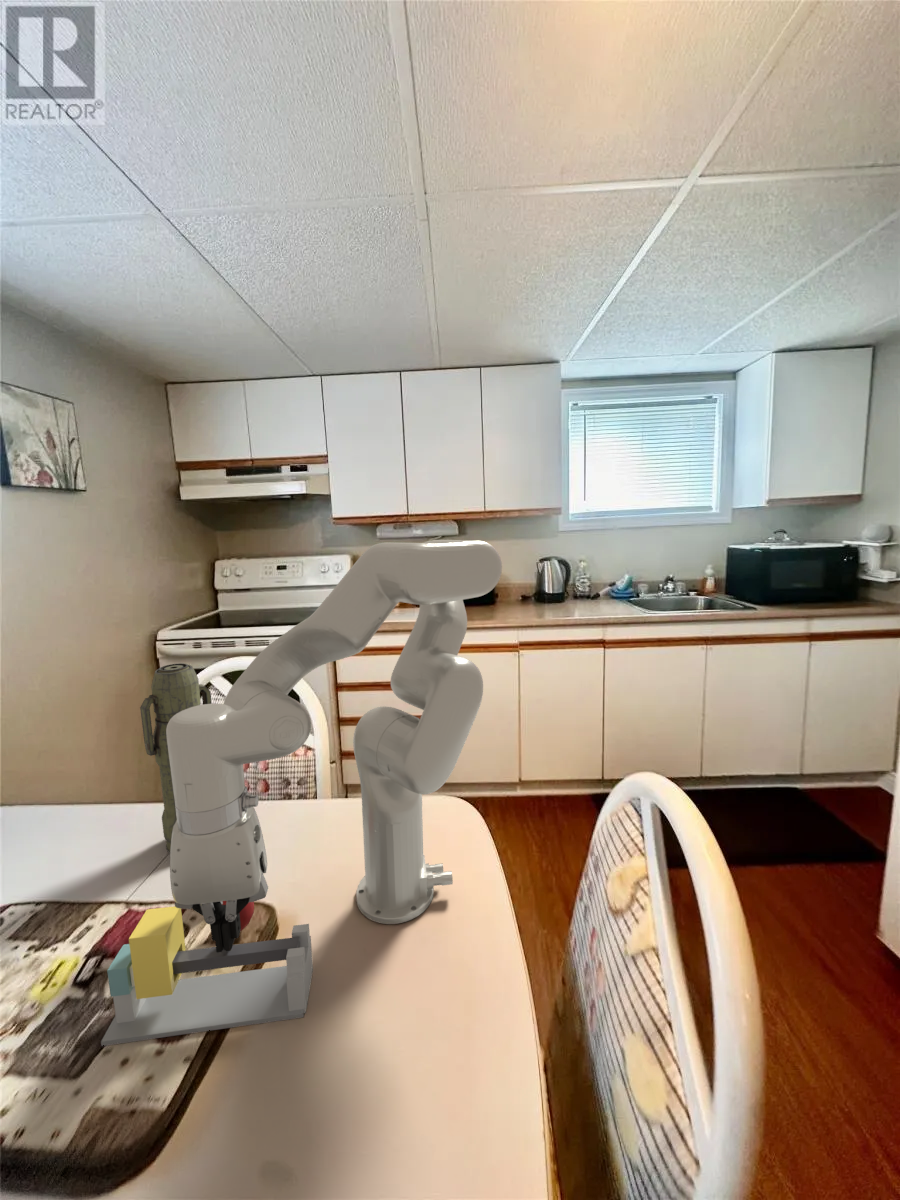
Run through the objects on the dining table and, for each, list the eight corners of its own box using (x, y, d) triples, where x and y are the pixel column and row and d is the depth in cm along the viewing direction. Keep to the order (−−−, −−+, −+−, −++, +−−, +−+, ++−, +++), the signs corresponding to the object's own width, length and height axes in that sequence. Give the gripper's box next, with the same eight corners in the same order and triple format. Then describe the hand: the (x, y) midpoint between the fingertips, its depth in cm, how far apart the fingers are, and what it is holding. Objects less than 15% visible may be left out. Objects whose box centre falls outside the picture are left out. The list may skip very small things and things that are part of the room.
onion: (244, 911, 76) (240, 865, 75) (263, 929, 72) (259, 882, 71) (206, 935, 71) (201, 887, 70) (225, 956, 68) (220, 906, 67)
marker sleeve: (187, 962, 62) (180, 905, 61) (172, 994, 58) (165, 934, 57) (154, 966, 62) (147, 909, 60) (136, 999, 57) (128, 938, 56)
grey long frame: (313, 966, 66) (309, 912, 65) (305, 1016, 59) (300, 958, 58) (132, 989, 63) (125, 933, 62) (101, 1045, 56) (92, 984, 55)
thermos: (233, 830, 96) (218, 661, 91) (176, 866, 86) (155, 679, 81) (206, 817, 101) (190, 656, 95) (148, 851, 90) (126, 672, 85)
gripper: (283, 786, 62) (294, 911, 65) (160, 796, 60) (177, 925, 63) (269, 821, 55) (282, 960, 58) (129, 834, 53) (149, 978, 56)
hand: (227, 941), depth 60 cm, fingers closed
